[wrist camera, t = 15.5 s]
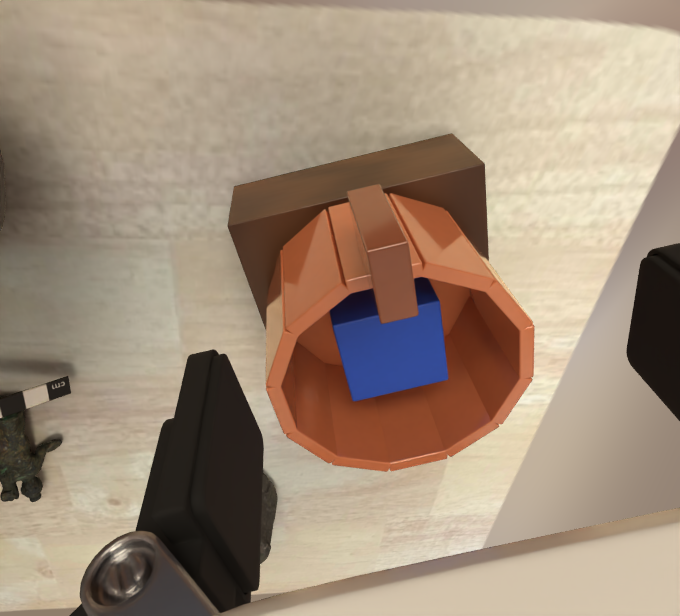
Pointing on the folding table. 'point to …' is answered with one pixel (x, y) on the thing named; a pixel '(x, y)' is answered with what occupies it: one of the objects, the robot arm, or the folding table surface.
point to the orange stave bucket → (391, 305)
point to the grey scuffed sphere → (2, 192)
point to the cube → (390, 344)
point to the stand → (331, 189)
